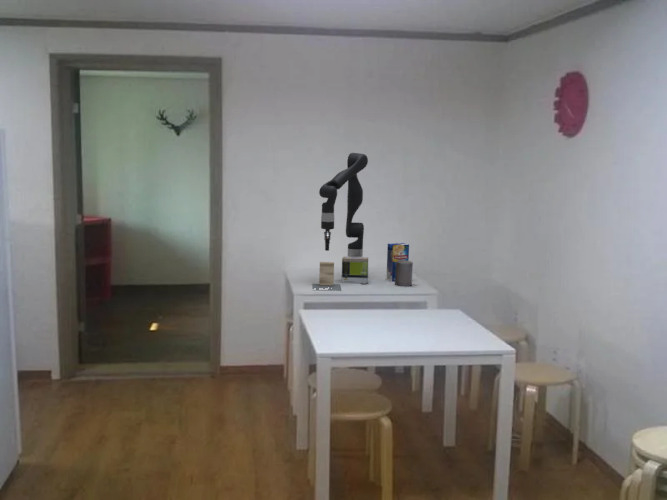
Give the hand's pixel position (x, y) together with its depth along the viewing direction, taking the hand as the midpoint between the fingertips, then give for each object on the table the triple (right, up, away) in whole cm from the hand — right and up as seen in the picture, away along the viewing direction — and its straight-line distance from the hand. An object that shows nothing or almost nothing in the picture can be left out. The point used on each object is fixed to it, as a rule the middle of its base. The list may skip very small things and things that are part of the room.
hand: (327, 250), depth 417 cm
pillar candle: (+44, -20, +2) cm, 49 cm away
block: (0, -20, -6) cm, 21 cm away
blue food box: (+42, -18, +17) cm, 49 cm away
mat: (0, -21, -12) cm, 24 cm away
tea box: (+16, -19, +7) cm, 26 cm away
